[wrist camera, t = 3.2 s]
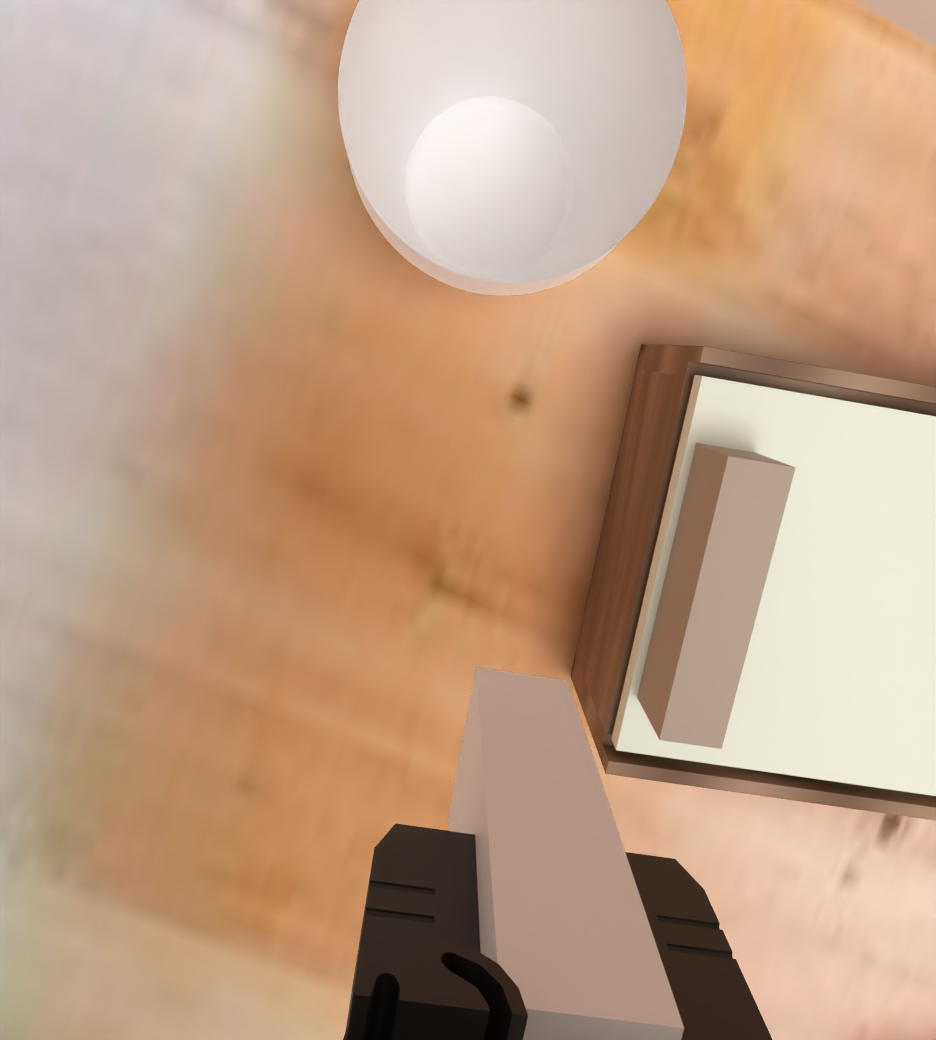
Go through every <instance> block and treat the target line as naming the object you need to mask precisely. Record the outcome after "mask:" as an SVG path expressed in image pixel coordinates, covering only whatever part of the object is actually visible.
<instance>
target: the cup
mask: <svg viewBox="0 0 936 1040" xmlns="http://www.w3.org/2000/svg"><path fill="white" fill-rule="evenodd" d="M686 103H687V75H686V66H685V58H684V52H683V48H682V43H681V38H680V35H679V32H678V28H677V25H676V22H675V19H674V17H673V14H672V12H671V9H670V7H669V5H668V2H667V0H359V2H358V5H357V7H356V9H355V11H354V13H353V16H352V19H351V21H350V24H349V27H348V30H347V33H346V37H345V41H344V45H343V49H342V54H341V60H340V67H339V78H338V109H339V117H340V126H341V131H342V136H343V140H344V145H345V148H346V151H347V155H348V159H349V164H350V168H351V172H352V175H353V179H354V182H355V185H356V188H357V190H358V193H359V195H360V197H361V200H362V202H363V204H364V206H365V208H366V210H367V212H368V214H369V215H370V217H371V219H372V220H373V222H374V223H375V225H376V226H377V228H378V229H379V231H380V232H381V233H382V235H383V236H384V237H385V238H386V240H387V241H388V242H389V243H390V244H391V245H392V246H393V247H394V248H395V249H396V250H397V251H398V253H399V254H401V255H402V256H403V257H404V258H405V259H406V260H408V261H409V262H410V263H411V264H412V265H414V266H415V267H417V268H418V269H420V270H421V271H422V272H424V273H426V274H427V275H429V276H431V277H433V278H434V279H436V280H438V281H440V282H443V283H445V284H447V285H450V286H452V287H455V288H458V289H461V290H464V291H468V292H473V293H478V294H484V295H493V296H514V295H524V294H530V293H535V292H540V291H543V290H547V289H550V288H553V287H556V286H558V285H561V284H563V283H565V282H568V281H570V280H572V279H573V278H575V277H577V276H579V275H581V274H583V273H584V272H586V271H587V270H588V269H590V268H591V267H593V266H594V265H596V264H597V263H598V262H599V261H601V260H602V259H603V258H604V257H605V256H607V255H608V254H609V253H610V252H611V251H612V250H613V249H614V248H615V247H616V246H617V245H618V244H619V242H620V241H621V240H622V239H623V238H624V237H625V236H626V235H627V234H628V233H629V232H630V231H631V230H632V229H633V228H634V227H635V226H636V225H637V224H638V223H639V222H640V220H641V219H642V218H643V217H644V216H645V214H646V213H647V212H648V210H649V209H650V207H651V206H652V204H653V203H654V201H655V200H656V199H657V197H658V195H659V193H660V191H661V190H662V188H663V186H664V184H665V182H666V180H667V178H668V176H669V173H670V171H671V169H672V167H673V164H674V161H675V158H676V155H677V152H678V149H679V146H680V141H681V137H682V133H683V128H684V122H685V115H686Z"/></svg>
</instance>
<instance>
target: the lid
mask: <svg viewBox="0 0 936 1040" xmlns="http://www.w3.org/2000/svg"><path fill="white" fill-rule="evenodd" d="M612 742H613V744H614V747H615V749H616V750H618V751H624V752H631V753H638V754H645V755H652V756H659V757H666V758H673V759H680V760H687V761H694V762H701V763H708V764H715V765H722V766H729V767H736V768H743V769H750V770H757V771H764V772H771V773H778V774H785V775H792V776H799V777H806V778H813V779H820V780H827V781H834V782H841V783H848V784H855V785H862V786H869V787H876V788H883V789H890V790H897V791H904V792H911V793H918V794H925V795H932V796H936V416H930V415H924V414H918V413H913V412H907V411H901V410H895V409H890V408H884V407H878V406H872V405H867V404H861V403H855V402H849V401H844V400H838V399H832V398H826V397H820V396H815V395H809V394H803V393H797V392H792V391H786V390H780V389H774V388H769V387H763V386H757V385H751V384H746V383H740V382H734V381H728V380H722V379H717V378H711V377H705V376H699V375H695V376H694V380H693V384H692V389H691V393H690V397H689V402H688V406H687V411H686V415H685V419H684V424H683V428H682V433H681V437H680V441H679V446H678V450H677V454H676V459H675V463H674V468H673V472H672V476H671V481H670V485H669V489H668V494H667V498H666V503H665V507H664V511H663V516H662V520H661V524H660V529H659V533H658V538H657V542H656V546H655V551H654V555H653V559H652V564H651V568H650V573H649V577H648V581H647V586H646V590H645V594H644V599H643V603H642V608H641V612H640V616H639V621H638V625H637V629H636V634H635V638H634V643H633V647H632V651H631V656H630V660H629V664H628V669H627V673H626V678H625V682H624V686H623V691H622V695H621V699H620V704H619V708H618V713H617V717H616V721H615V726H614V730H613V734H612Z"/></svg>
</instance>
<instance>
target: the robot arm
mask: <svg viewBox="0 0 936 1040" xmlns="http://www.w3.org/2000/svg"><path fill="white" fill-rule="evenodd" d="M343 1040H772V1038H771V1036H770V1033H769V1031H768V1029H767V1027H766V1025H765V1022H764V1020H763V1018H762V1016H761V1014H760V1011H759V1009H758V1007H757V1005H756V1003H755V1000H754V998H753V996H752V994H751V992H750V989H749V987H748V985H747V983H746V981H745V979H744V976H743V974H742V972H741V970H740V968H739V965H738V963H737V961H736V959H733V958H732V950H731V948H730V946H729V943H728V941H727V939H726V937H725V935H724V932H723V930H720V929H719V921H718V919H717V917H716V915H715V913H714V910H713V908H712V906H711V904H710V902H709V899H708V897H707V895H706V893H705V891H704V889H703V888H702V887H701V886H700V885H699V884H698V883H697V882H696V881H695V880H694V878H693V877H692V876H691V875H690V874H689V873H688V872H687V871H686V870H685V869H684V868H683V867H682V866H681V865H680V864H679V863H678V862H677V861H676V859H671V858H664V857H656V856H649V855H642V854H635V853H627V852H625V850H624V847H623V844H622V841H621V838H620V835H619V832H618V829H617V826H616V823H615V820H614V817H613V814H612V811H611V808H610V805H609V802H608V799H607V796H606V793H605V790H604V787H603V784H602V781H601V778H600V775H599V772H598V770H597V767H596V764H595V761H594V758H593V755H592V752H591V749H590V746H589V743H588V740H587V737H586V734H585V731H584V728H583V725H582V722H581V719H580V716H579V713H578V710H577V707H576V704H575V701H574V698H573V695H572V692H571V689H570V686H569V683H568V680H561V679H554V678H548V677H541V676H534V675H527V674H521V673H514V672H507V671H501V670H494V669H487V668H481V667H476V670H475V676H474V681H473V687H472V692H471V698H470V703H469V709H468V714H467V720H466V725H465V730H464V736H463V741H462V747H461V752H460V758H459V763H458V769H457V774H456V779H455V785H454V790H453V796H452V801H451V807H450V812H449V831H445V830H438V829H430V828H423V827H416V826H409V825H401V824H395V825H394V826H393V827H392V828H391V829H390V831H389V832H388V833H387V834H386V835H385V837H384V838H383V839H382V840H381V841H380V842H379V844H378V845H377V846H376V847H375V849H374V855H373V861H372V867H371V874H370V880H369V886H368V892H367V898H366V904H365V911H364V917H363V923H362V929H361V935H360V942H359V948H358V954H357V961H356V967H355V974H354V980H353V987H352V994H351V1000H350V1006H349V1013H348V1020H347V1026H346V1033H345V1036H344V1039H343Z"/></svg>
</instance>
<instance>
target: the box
mask: <svg viewBox="0 0 936 1040" xmlns="http://www.w3.org/2000/svg"><path fill="white" fill-rule="evenodd" d="M695 375H699V376H705V377H711V378H717V379H722V380H728V381H734V382H740V383H746V384H751V385H757V386H763V387H769V388H774V389H780V390H786V391H792V392H797V393H803V394H809V395H815V396H820V397H826V398H832V399H838V400H844V401H849V402H855V403H861V404H867V405H872V406H878V407H884V408H890V409H895V410H901V411H907V412H913V413H918V414H924V415H930V416H936V387H933V386H927V385H921V384H915V383H910V382H904V381H898V380H893V379H887V378H881V377H876V376H870V375H864V374H859V373H853V372H847V371H842V370H836V369H830V368H824V367H819V366H813V365H807V364H802V363H796V362H790V361H785V360H779V359H773V358H768V357H762V356H756V355H751V354H745V353H739V352H733V351H728V350H722V349H716V348H711V347H705V346H679V345H647V344H641V349H640V354H639V359H638V363H637V368H636V373H635V377H634V382H633V387H632V392H631V396H630V401H629V406H628V410H627V415H626V420H625V425H624V429H623V434H622V439H621V443H620V448H619V453H618V458H617V462H616V467H615V472H614V476H613V481H612V486H611V491H610V495H609V500H608V505H607V509H606V514H605V519H604V524H603V528H602V533H601V538H600V542H599V547H598V552H597V557H596V561H595V566H594V571H593V575H592V580H591V585H590V590H589V594H588V599H587V604H586V608H585V613H584V618H583V623H582V627H581V632H580V637H579V641H578V646H577V651H576V656H575V660H574V665H573V670H572V674H571V678H572V681H573V684H574V687H575V690H576V692H577V695H578V698H579V701H580V703H581V706H582V709H583V712H584V715H585V717H586V720H587V723H588V726H589V728H590V731H591V734H592V737H593V740H594V742H595V745H596V748H597V751H598V753H599V756H600V759H601V762H602V765H603V767H604V770H605V773H606V774H611V775H618V776H625V777H632V778H639V779H647V780H654V781H661V782H668V783H675V784H682V785H689V786H696V787H703V788H710V789H717V790H724V791H731V792H739V793H746V794H753V795H760V796H767V797H774V798H781V799H788V800H795V801H802V802H809V803H816V804H823V805H831V806H838V807H845V808H852V809H859V810H866V811H873V812H880V813H887V814H894V815H901V816H908V817H915V818H923V819H930V820H936V796H932V795H925V794H918V793H911V792H904V791H897V790H890V789H883V788H876V787H869V786H862V785H855V784H848V783H841V782H834V781H827V780H820V779H813V778H806V777H799V776H792V775H785V774H778V773H771V772H764V771H757V770H750V769H743V768H736V767H729V766H722V765H715V764H708V763H701V762H694V761H687V760H680V759H673V758H666V757H659V756H652V755H645V754H638V753H631V752H624V751H618V750H616V749H615V747H614V744H613V742H612V734H613V730H614V726H615V721H616V717H617V713H618V708H619V704H620V699H621V695H622V691H623V686H624V682H625V678H626V673H627V669H628V664H629V660H630V656H631V651H632V647H633V643H634V638H635V634H636V629H637V625H638V621H639V616H640V612H641V608H642V603H643V599H644V594H645V590H646V586H647V581H648V577H649V573H650V568H651V564H652V559H653V555H654V551H655V546H656V542H657V538H658V533H659V529H660V524H661V520H662V516H663V511H664V507H665V503H666V498H667V494H668V489H669V485H670V481H671V476H672V472H673V468H674V463H675V459H676V454H677V450H678V446H679V441H680V437H681V433H682V428H683V424H684V419H685V415H686V411H687V406H688V402H689V397H690V393H691V389H692V384H693V380H694V376H695Z"/></svg>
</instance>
